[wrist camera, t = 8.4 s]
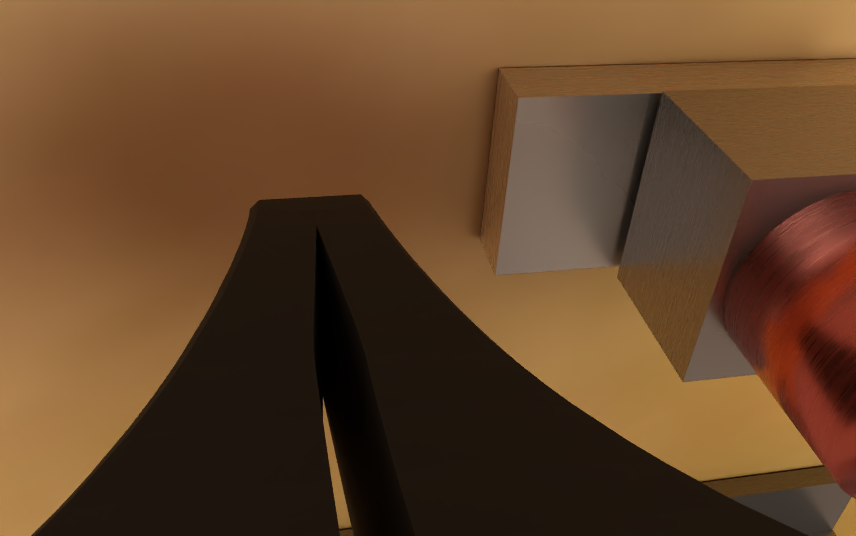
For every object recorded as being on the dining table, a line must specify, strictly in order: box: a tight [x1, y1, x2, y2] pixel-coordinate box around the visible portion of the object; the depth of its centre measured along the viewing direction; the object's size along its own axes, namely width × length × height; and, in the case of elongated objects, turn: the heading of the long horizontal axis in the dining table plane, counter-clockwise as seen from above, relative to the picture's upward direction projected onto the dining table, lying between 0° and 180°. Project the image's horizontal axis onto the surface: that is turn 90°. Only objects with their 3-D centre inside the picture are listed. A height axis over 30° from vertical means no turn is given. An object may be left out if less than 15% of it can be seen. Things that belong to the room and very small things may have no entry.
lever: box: [617, 85, 856, 499], centre depth 10 cm, size 3×3×5 cm
